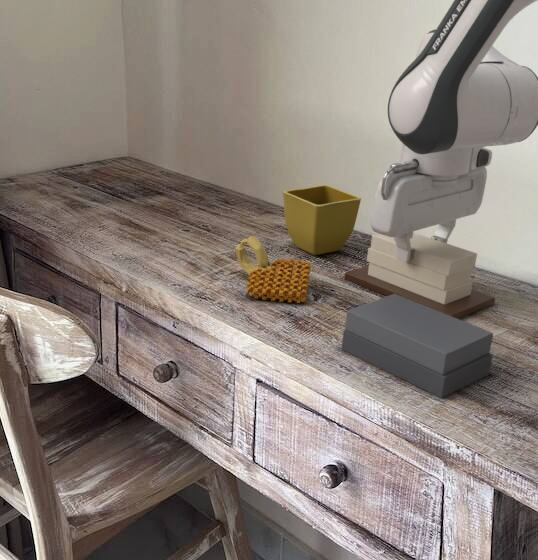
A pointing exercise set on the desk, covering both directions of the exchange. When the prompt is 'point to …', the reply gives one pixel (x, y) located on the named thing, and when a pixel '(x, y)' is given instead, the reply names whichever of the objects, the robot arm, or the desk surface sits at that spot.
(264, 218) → the desk surface
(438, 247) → the cream book
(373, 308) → the grey stack
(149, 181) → the desk surface
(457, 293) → the cream stack
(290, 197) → the flower pot
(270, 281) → the ornament
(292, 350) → the desk surface
